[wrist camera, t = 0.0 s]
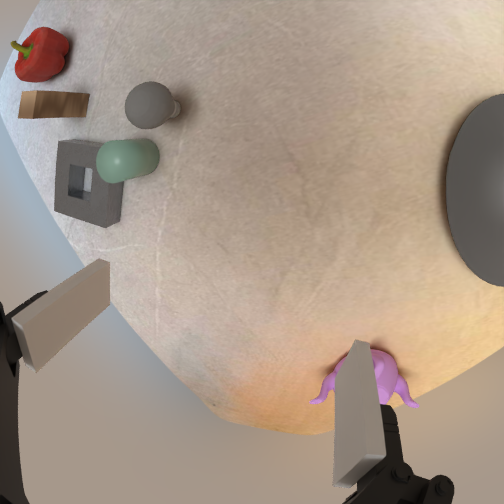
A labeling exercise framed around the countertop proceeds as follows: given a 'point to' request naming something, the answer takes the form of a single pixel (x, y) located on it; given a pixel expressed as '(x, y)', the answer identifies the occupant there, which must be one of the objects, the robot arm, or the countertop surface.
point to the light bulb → (150, 105)
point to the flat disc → (479, 191)
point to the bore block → (72, 180)
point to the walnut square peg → (52, 104)
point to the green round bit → (126, 159)
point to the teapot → (385, 380)
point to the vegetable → (40, 55)
